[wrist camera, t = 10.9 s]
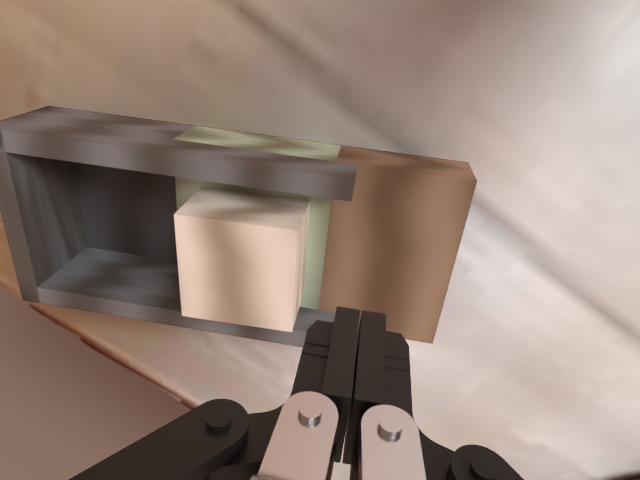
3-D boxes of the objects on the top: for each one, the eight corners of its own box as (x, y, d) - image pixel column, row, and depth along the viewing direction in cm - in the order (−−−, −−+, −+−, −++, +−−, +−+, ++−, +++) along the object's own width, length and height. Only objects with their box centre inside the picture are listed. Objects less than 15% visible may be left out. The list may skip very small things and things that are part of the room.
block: (310, 199, 33) (298, 230, 29) (303, 292, 37) (291, 332, 32) (201, 186, 34) (173, 214, 29) (206, 278, 37) (181, 315, 33)
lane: (468, 162, 34) (485, 198, 28) (428, 313, 41) (435, 369, 35) (48, 106, 37) (-21, 127, 31) (75, 257, 43) (22, 300, 37)
